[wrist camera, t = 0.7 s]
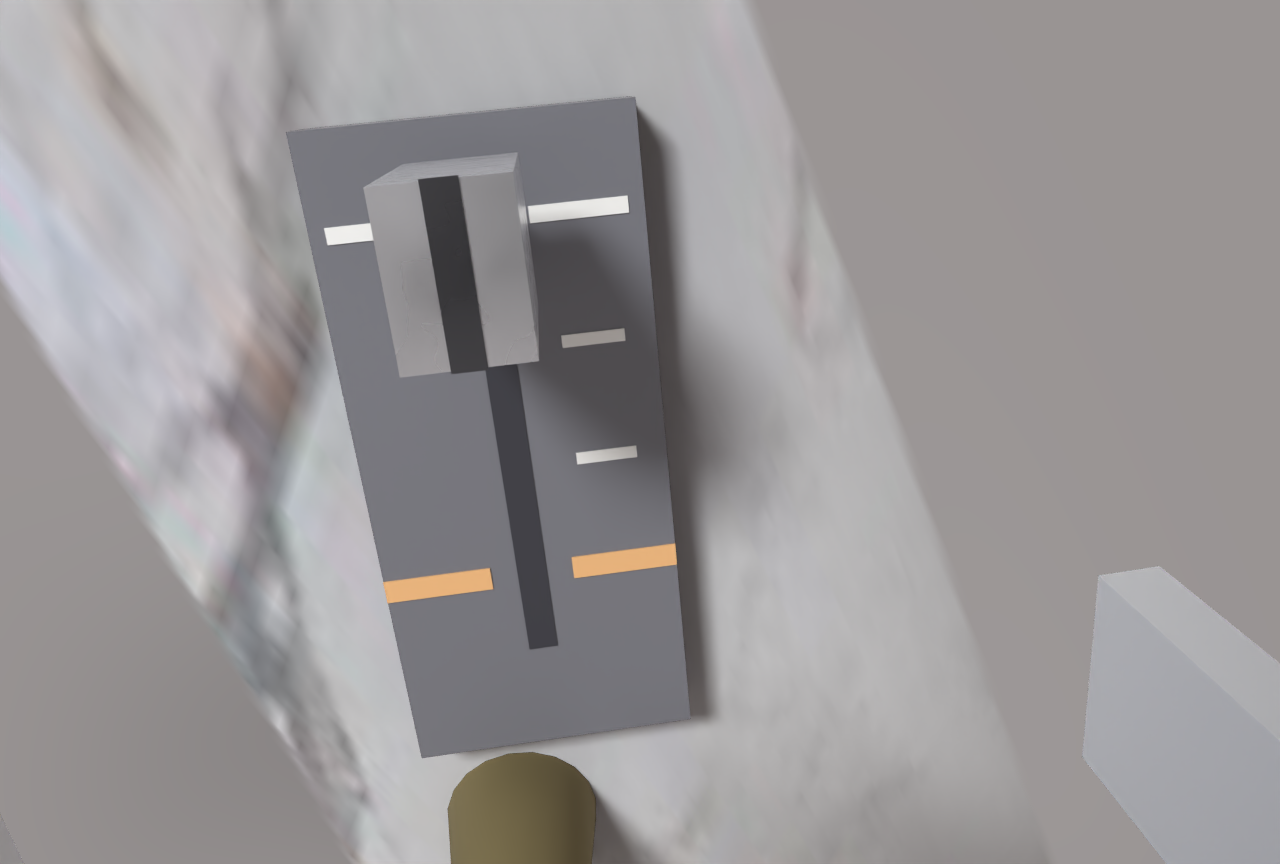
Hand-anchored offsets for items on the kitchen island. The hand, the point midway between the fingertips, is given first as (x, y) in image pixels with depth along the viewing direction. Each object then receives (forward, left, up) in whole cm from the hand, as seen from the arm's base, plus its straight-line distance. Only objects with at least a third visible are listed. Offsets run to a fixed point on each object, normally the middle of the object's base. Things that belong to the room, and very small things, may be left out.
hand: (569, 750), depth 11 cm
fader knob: (-4, -2, -19) cm, 20 cm away
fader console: (+4, -2, -22) cm, 22 cm away
